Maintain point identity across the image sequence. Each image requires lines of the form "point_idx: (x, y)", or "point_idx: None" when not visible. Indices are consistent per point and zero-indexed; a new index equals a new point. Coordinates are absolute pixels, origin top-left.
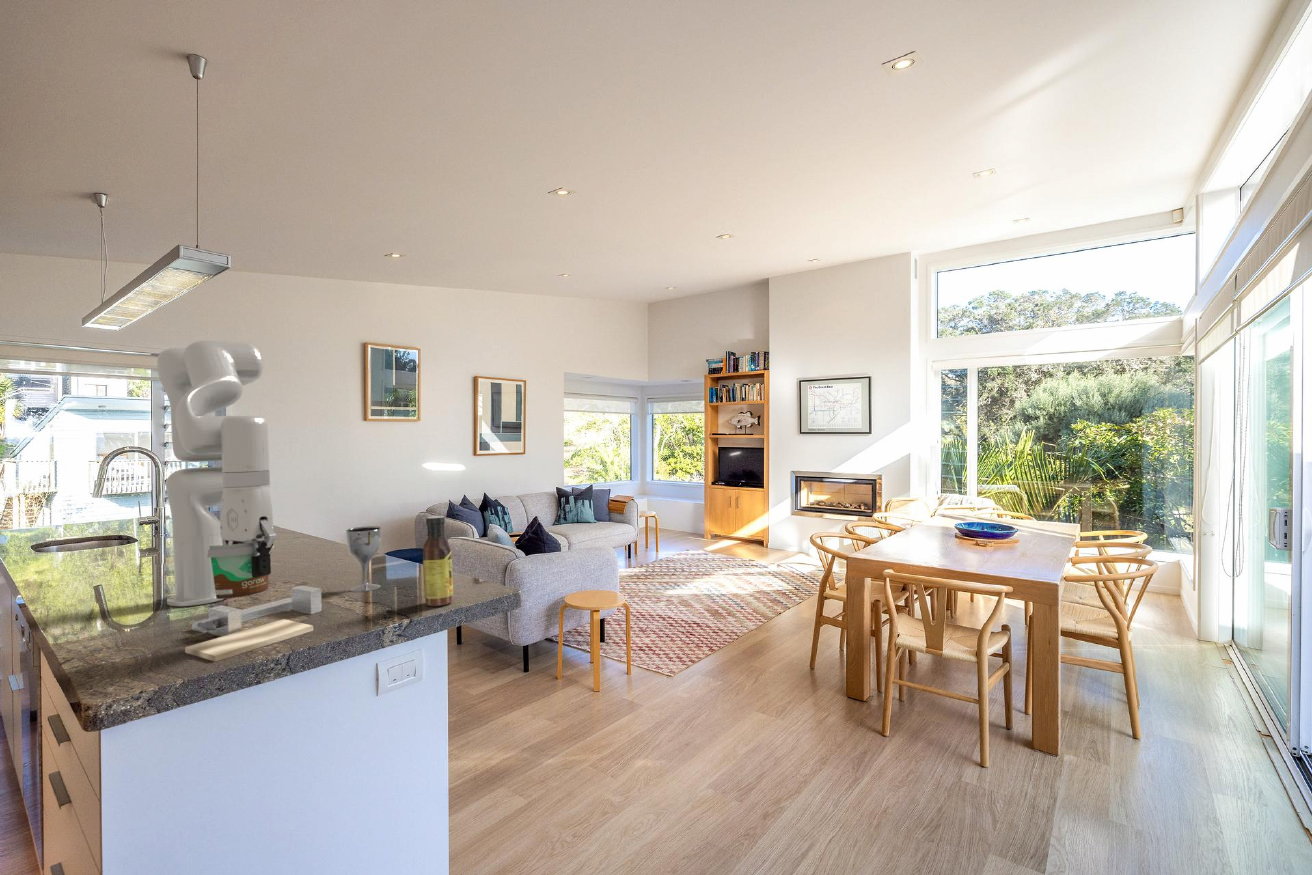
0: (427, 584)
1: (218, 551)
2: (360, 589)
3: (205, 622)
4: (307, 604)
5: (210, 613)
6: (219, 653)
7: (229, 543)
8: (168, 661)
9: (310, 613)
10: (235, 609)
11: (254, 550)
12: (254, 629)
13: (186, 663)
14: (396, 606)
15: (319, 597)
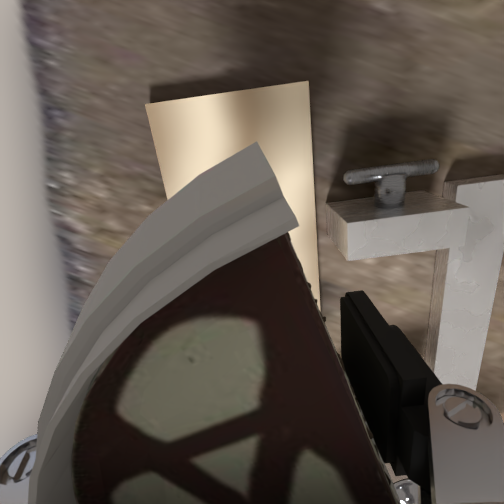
0: None
1: (134, 258)
2: (401, 489)
3: (405, 174)
4: None
5: (447, 205)
6: (159, 120)
7: (495, 475)
8: (266, 19)
9: None
10: (363, 251)
11: (15, 484)
12: (298, 256)
13: (201, 47)
14: None
15: None
